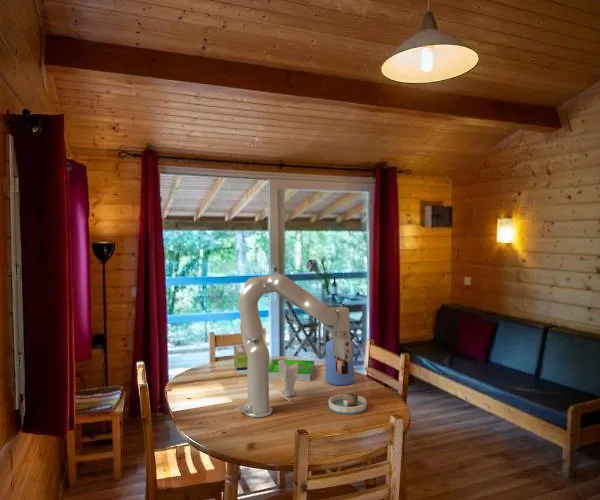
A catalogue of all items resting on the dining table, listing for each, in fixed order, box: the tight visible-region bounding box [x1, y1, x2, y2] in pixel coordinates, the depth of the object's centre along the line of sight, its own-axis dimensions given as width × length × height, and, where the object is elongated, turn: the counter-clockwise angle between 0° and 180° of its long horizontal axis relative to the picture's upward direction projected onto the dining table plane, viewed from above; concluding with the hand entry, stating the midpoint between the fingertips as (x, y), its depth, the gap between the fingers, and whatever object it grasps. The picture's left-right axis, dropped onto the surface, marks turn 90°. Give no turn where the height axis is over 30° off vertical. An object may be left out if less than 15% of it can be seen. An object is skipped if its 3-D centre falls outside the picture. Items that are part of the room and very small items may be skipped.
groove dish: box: [327, 393, 368, 416], centre depth 208 cm, size 17×17×3 cm
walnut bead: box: [347, 393, 359, 407], centre depth 204 cm, size 4×4×6 cm
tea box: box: [233, 344, 248, 374], centre depth 263 cm, size 15×10×15 cm, turn 14°
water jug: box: [324, 338, 355, 386], centre depth 245 cm, size 16×16×28 cm
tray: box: [269, 359, 315, 382], centre depth 260 cm, size 25×25×5 cm
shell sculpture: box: [278, 359, 298, 398], centre depth 224 cm, size 8×8×18 cm
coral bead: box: [337, 359, 346, 375], centre depth 212 cm, size 4×4×6 cm
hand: (341, 371), depth 212 cm, fingers closed on coral bead, 4 cm apart
